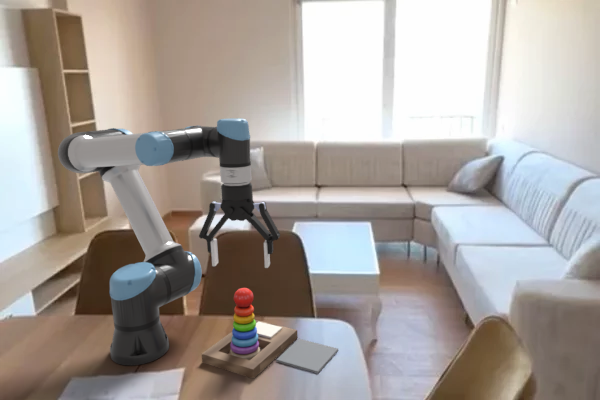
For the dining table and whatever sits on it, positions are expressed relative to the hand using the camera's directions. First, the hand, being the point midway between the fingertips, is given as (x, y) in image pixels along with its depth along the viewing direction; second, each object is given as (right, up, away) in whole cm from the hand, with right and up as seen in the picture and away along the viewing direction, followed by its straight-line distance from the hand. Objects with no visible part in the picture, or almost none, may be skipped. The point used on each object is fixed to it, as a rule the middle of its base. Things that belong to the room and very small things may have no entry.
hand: (241, 265), depth 125 cm
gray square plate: (+17, -24, +5) cm, 30 cm away
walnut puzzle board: (+2, -24, +8) cm, 25 cm away
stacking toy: (0, -25, +6) cm, 26 cm away
